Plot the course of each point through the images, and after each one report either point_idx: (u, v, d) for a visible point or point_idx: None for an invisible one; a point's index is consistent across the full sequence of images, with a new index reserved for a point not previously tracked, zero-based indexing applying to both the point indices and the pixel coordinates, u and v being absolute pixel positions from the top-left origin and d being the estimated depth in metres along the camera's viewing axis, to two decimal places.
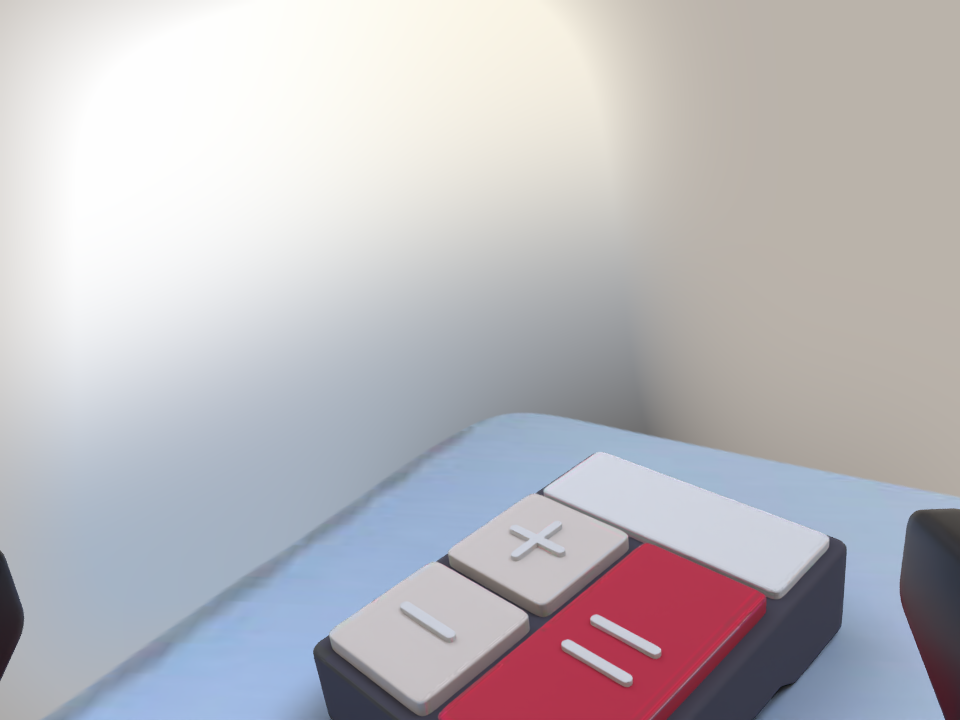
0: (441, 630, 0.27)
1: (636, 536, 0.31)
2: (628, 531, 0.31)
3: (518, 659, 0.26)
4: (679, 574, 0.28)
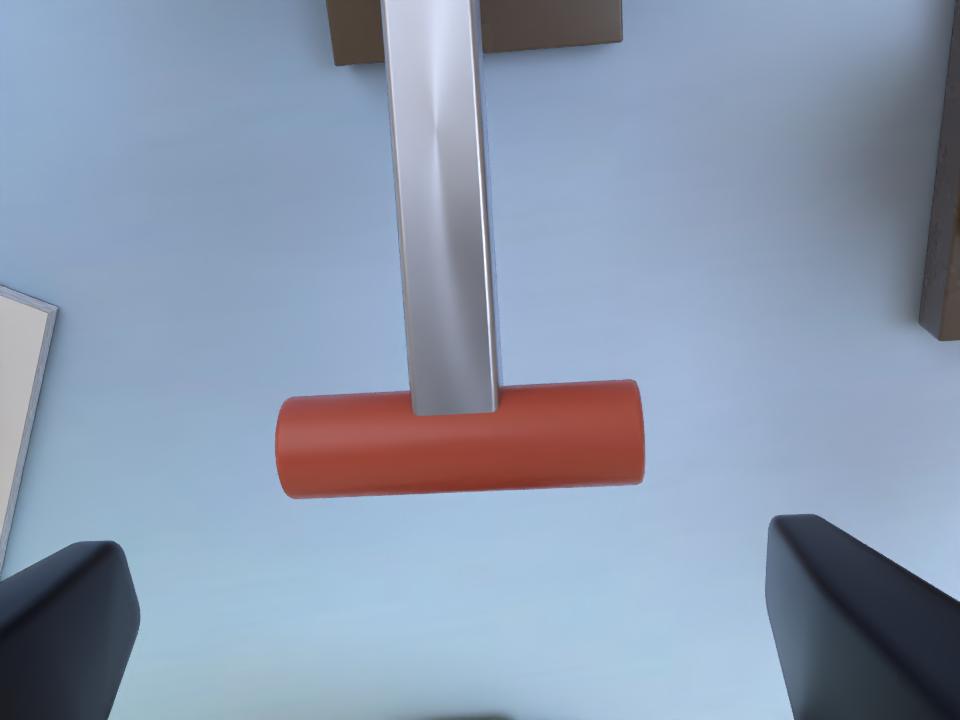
0: None
1: None
2: None
3: None
4: None
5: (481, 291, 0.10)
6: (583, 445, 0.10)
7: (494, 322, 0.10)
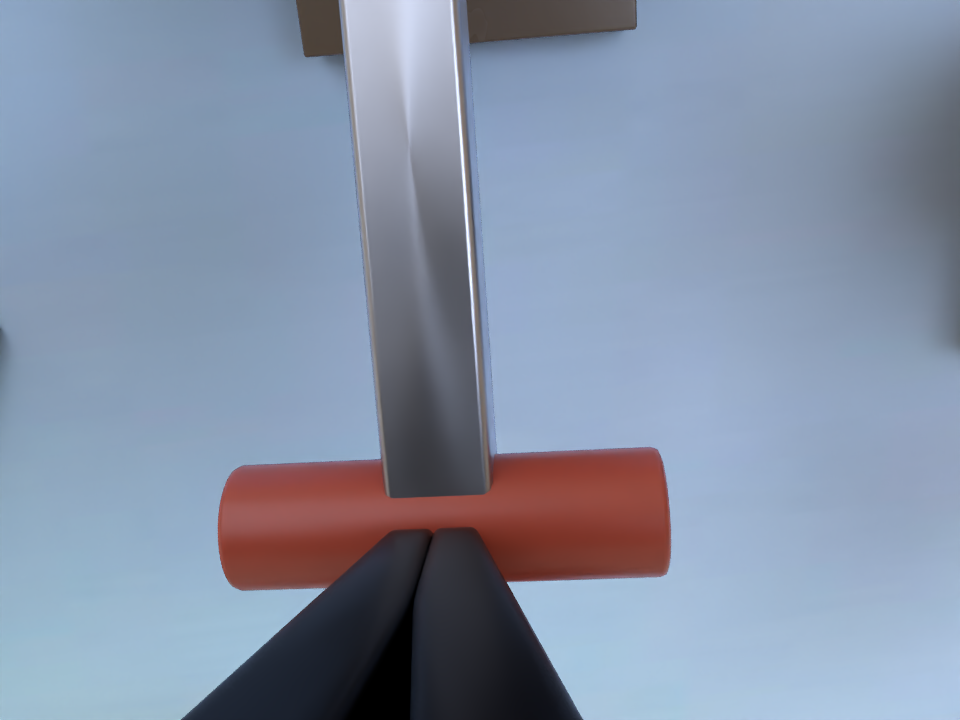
0: None
1: None
2: None
3: None
4: None
5: (468, 347, 0.08)
6: (595, 536, 0.08)
7: (485, 384, 0.08)
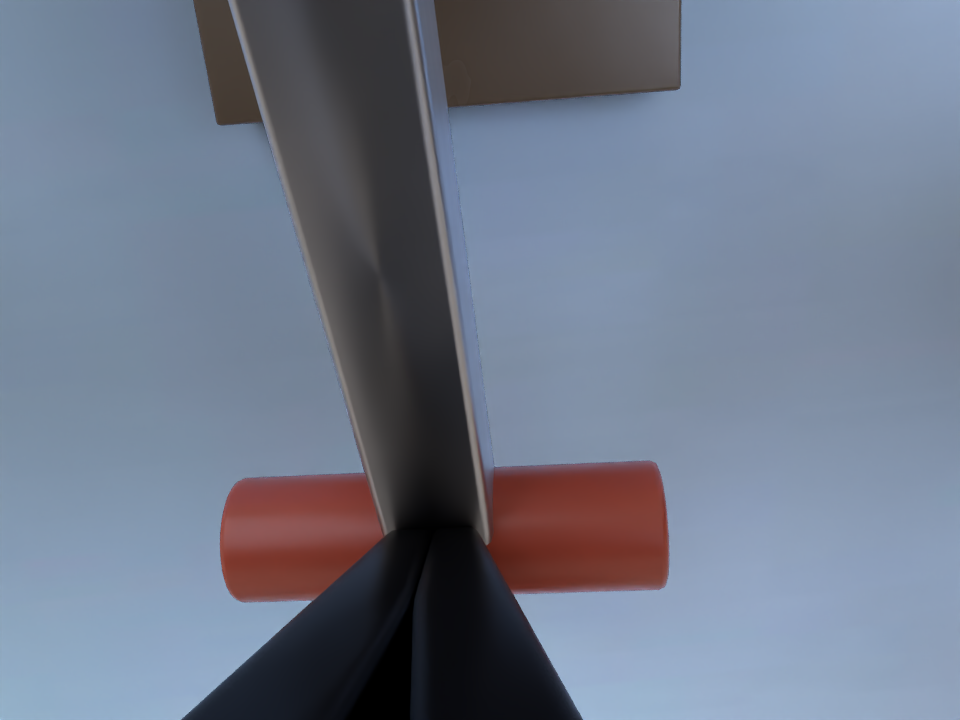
0: None
1: None
2: None
3: None
4: None
5: (464, 447, 0.08)
6: (594, 581, 0.09)
7: (483, 468, 0.08)
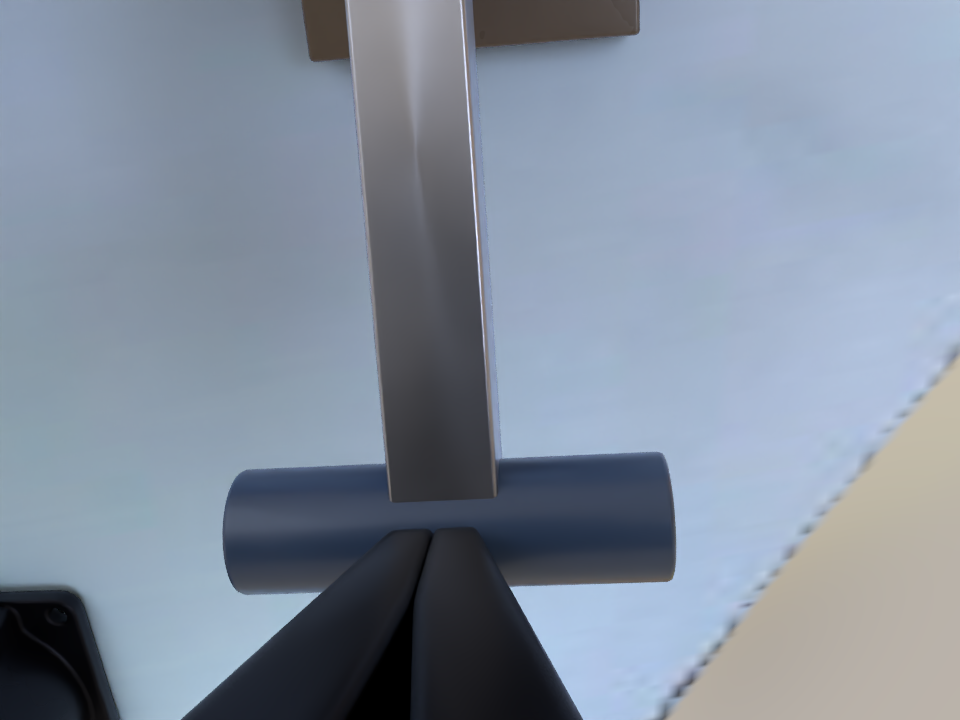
0: None
1: None
2: None
3: None
4: None
5: None
6: None
7: None
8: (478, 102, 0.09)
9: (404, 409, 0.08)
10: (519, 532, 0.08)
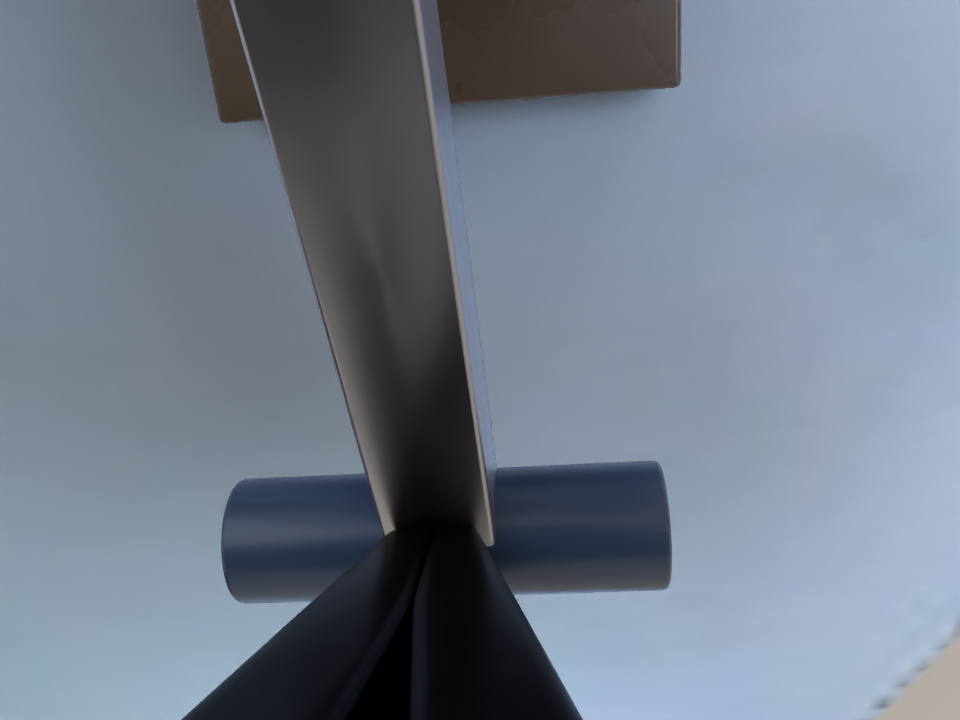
0: None
1: None
2: None
3: None
4: None
5: None
6: None
7: None
8: (454, 148, 0.07)
9: (394, 489, 0.08)
10: (517, 575, 0.09)
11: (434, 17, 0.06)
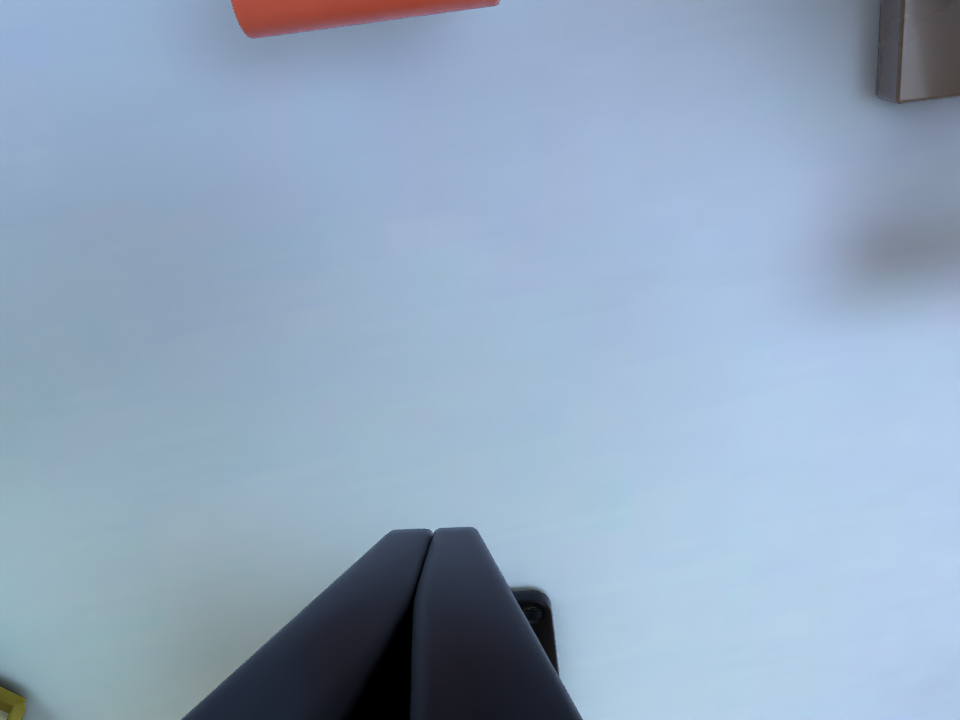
0: None
1: None
2: None
3: None
4: None
5: None
6: None
7: None
8: None
9: None
10: None
11: None
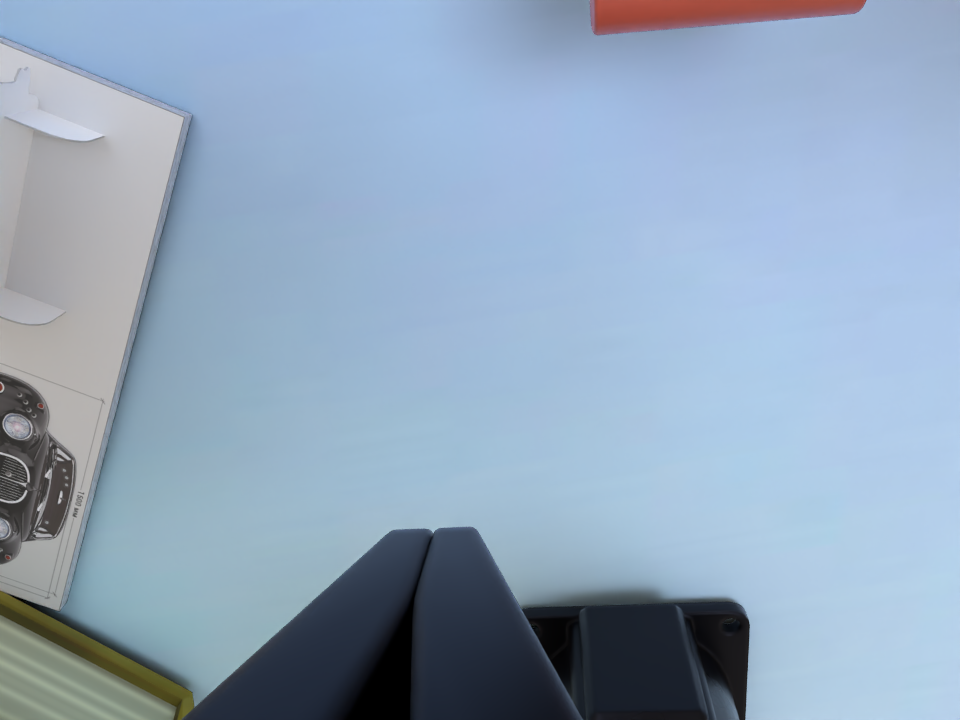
0: None
1: None
2: None
3: None
4: None
5: None
6: None
7: None
8: None
9: None
10: None
11: None
